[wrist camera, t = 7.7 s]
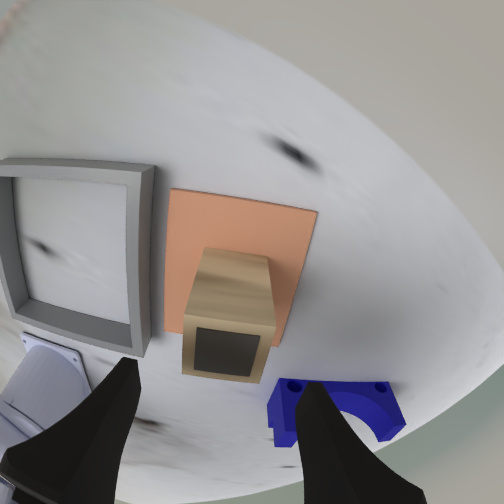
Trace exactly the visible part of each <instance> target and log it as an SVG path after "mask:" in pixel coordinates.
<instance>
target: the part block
mask: <svg viewBox="0 0 504 504" xmlns="http://www.w3.org/2000/svg"><path fill="white" fill-rule="evenodd" d="M275 330H276V319H275V312H274V304H273V297H272V290H271V282H270V275H269V268H268V261H267V256H262V255H256V254H249V253H242V252H236V251H229V250H223V249H216V248H209V247H204V250H203V253H202V256H201V260H200V263H199V266H198V269H197V272H196V275H195V279H194V282H193V285H192V289H191V292H190V295H189V299H188V302H187V305H186V309H185V312H184V323H183V348H182V374H186V375H192V376H199V377H205V378H212V379H220V380H228V381H237V382H246V383H257V384H259V382H260V379H261V376H262V373H263V370H264V367H265V363H266V360H267V357H268V354H269V350H270V347H271V344H272V340H273V337H274V334H275Z"/></svg>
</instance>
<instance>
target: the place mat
mask: <svg viewBox="0 0 504 504" xmlns="http://www.w3.org/2000/svg"><path fill="white" fill-rule="evenodd" d="M316 215H317V212H316V211H312V210H307V209H302V208H296V207H291V206H285V205H280V204H274V203H268V202H262V201H256V200H250V199H244V198H238V197H232V196H225V195H218V194H212V193H205V192H198V191H190V190H183V189H175V188H171V189H170V197H169V208H168V221H167V236H166V255H165V282H164V331H168V332H173V333H179V334H183V323H184V312H185V309H186V305H187V302H188V299H189V295H190V292H191V289H192V285H193V282H194V279H195V275H196V272H197V269H198V266H199V263H200V260H201V256H202V253H203V250H204V247H209V248H216V249H223V250H229V251H236V252H242V253H249V254H256V255H262V256H267V261H268V268H269V275H270V282H271V290H272V297H273V304H274V312H275V319H276V330H275V334H274V337H273V340H272V344H271V346H275V347H278V346H279V343H280V340H281V337H282V334H283V331H284V328H285V324H286V321H287V318H288V315H289V311H290V308H291V305H292V301H293V298H294V295H295V291H296V288H297V285H298V281H299V278H300V274H301V271H302V267H303V264H304V260H305V256H306V253H307V249H308V245H309V242H310V238H311V234H312V230H313V227H314V223H315V219H316Z"/></svg>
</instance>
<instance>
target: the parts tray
mask: <svg viewBox="0 0 504 504" xmlns="http://www.w3.org/2000/svg"><path fill="white" fill-rule="evenodd" d="M154 174H155V165H147V164H136V163H124V162H111V161H96V160H76V159H42V158H11V159H3V160H0V279H1V282H2V286H3V290H4V293H5V297H6V300H7V303H8V307H9V310H10V313H11V316H12V318H14V319H16V320H19V321H21V322H24V323H27V324H29V325H32V326H35V327H37V328H40V329H43V330H46V331H49V332H52V333H55V334H58V335H61V336H64V337H67V338H70V339H73V340H77V341H80V342H83V343H87V344H90V345H94V346H97V347H101V348H105V349H109V350H113V351H117V352H121V353H125V354H129V355H133V356H138V357H142V358H144V355H145V352H146V350H147V347H148V344H149V342H150V339H151V318H150V237H151V215H152V199H153V186H154ZM12 177H29V178H46V179H61V180H74V181H86V182H98V183H108V184H118V185H127V199H126V271H127V291H128V306H129V318H130V325H127V324H123V323H118V322H114V321H110V320H105V319H101V318H97V317H93V316H89V315H86V314H82V313H78V312H74V311H71V310H67V309H64V308H60V307H57V306H53V305H50V304H47V303H44V302H40V301H37V300H34V299H31V298H29V295H28V291H27V287H26V283H25V278H24V274H23V269H22V264H21V259H20V253H19V248H18V241H17V234H16V227H15V218H14V208H13V196H12Z"/></svg>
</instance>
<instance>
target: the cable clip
mask: <svg viewBox="0 0 504 504" xmlns="http://www.w3.org/2000/svg"><path fill="white" fill-rule="evenodd" d="M308 382H322V384H323V385H324V387H325V389H326V390H327V392H328V394H329V395H330V397H331V398H332V400H333V402H334V403H335V405H336V406H337V408H338V409H339V410H340V411H344V412H347V413H350V414H352V415H354V416H356V417H358V418H359V419H361V420H362V421H364V422H365V423H366V424H367V425H368V426H369V427H370V428H371V430H372V431H373V432H374V434H375V436H376V438H377V440H378V442H383V441H390V440H391V439H392V438H393V437H394V436H395V435H396V434H397V433H398V432H399V431H400V430H401V429H402V428H403V427H404V426H405V425H406V422H405V420H404V417H403V415H402V413H401V410H400V408H399V405H398V403H397V401H396V398H395V396H394V394H393V391H392V389H391V387H390V385H389V382H338V381H315V380H299V379H286V378H279V379H278V382H277V384H276V386H275V388H274V391H273V393H272V395H271V397H270V399H269V402H268V404H267V413H268V428H273V432H274V445H275V447H292V446H293V445H294V443H295V442H296V441H297V440H298V439H297V433H296V424H295V407H296V405H297V403H298V401H299V399H300V397H301V395H302V393H303V391H304V389H305V387H306V385H307V383H308Z"/></svg>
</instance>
